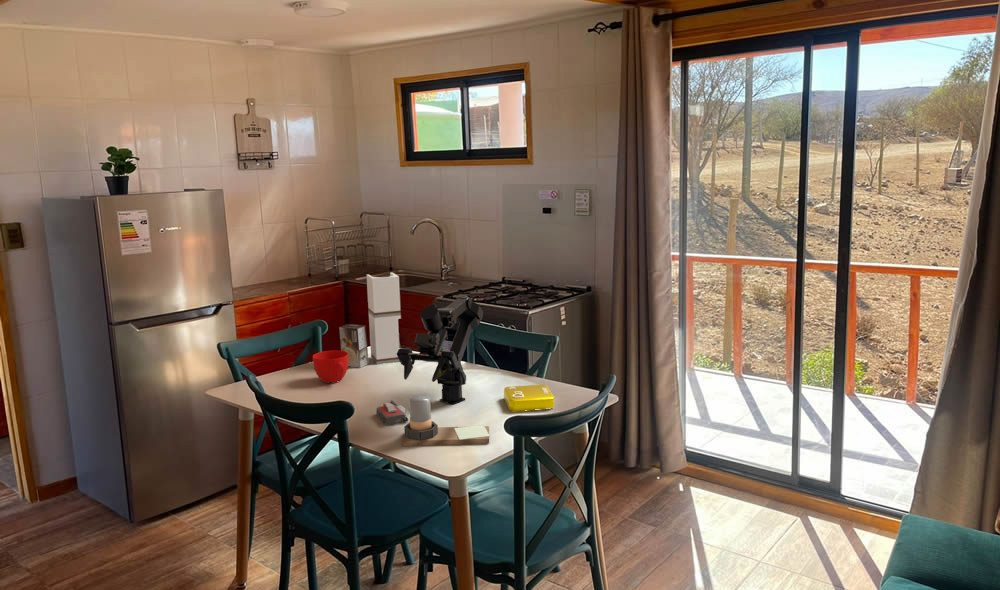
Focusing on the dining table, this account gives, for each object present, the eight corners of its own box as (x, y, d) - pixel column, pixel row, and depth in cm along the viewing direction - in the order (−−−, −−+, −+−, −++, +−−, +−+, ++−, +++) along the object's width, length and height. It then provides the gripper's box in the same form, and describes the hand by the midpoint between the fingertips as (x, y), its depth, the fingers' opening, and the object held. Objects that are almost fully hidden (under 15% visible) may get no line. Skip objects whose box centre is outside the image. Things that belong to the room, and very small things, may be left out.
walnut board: (402, 445, 211) (402, 441, 211) (406, 433, 221) (405, 428, 221) (489, 443, 212) (489, 438, 211) (489, 430, 221) (488, 426, 221)
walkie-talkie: (414, 423, 230) (394, 404, 248) (414, 409, 229) (394, 392, 247) (387, 428, 226) (369, 409, 244) (386, 414, 226) (368, 396, 243)
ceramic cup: (327, 391, 263) (325, 364, 261) (308, 380, 276) (307, 354, 274) (360, 383, 270) (358, 357, 268) (341, 373, 284) (339, 348, 282)
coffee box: (369, 363, 296) (367, 325, 293) (360, 368, 290) (358, 328, 287) (350, 361, 300) (348, 323, 297) (341, 366, 294) (338, 326, 291)
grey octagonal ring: (422, 425, 223) (421, 417, 222) (444, 433, 216) (444, 424, 216) (397, 435, 216) (397, 426, 215) (420, 442, 209) (419, 434, 209)
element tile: (555, 410, 239) (555, 396, 238) (510, 413, 237) (509, 399, 236) (546, 396, 254) (546, 382, 253) (503, 398, 252) (503, 385, 251)
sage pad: (454, 428, 219) (454, 428, 219) (483, 425, 221) (483, 425, 221) (459, 439, 211) (459, 439, 211) (490, 436, 213) (490, 435, 213)
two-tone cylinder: (421, 428, 220) (420, 393, 218) (436, 433, 216) (435, 397, 214) (406, 434, 216) (404, 398, 214) (420, 439, 212) (419, 403, 210)
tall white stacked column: (402, 361, 299) (398, 276, 292) (377, 364, 295) (372, 278, 288) (396, 354, 309) (392, 272, 302) (371, 357, 305) (366, 274, 299)
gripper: (400, 322, 230) (382, 360, 219) (455, 325, 224) (440, 365, 214) (410, 345, 237) (393, 383, 227) (464, 349, 232) (449, 388, 221)
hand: (418, 379), depth 222 cm, fingers open, 9 cm apart
